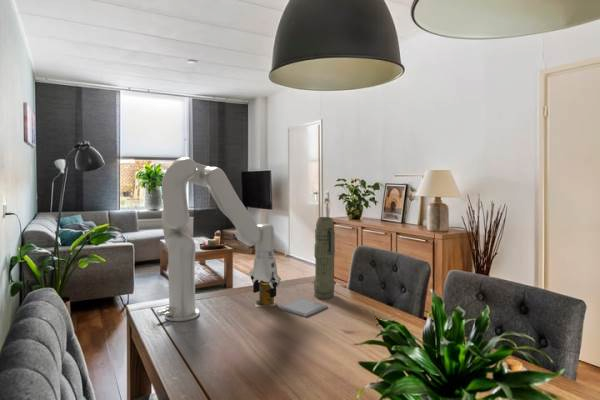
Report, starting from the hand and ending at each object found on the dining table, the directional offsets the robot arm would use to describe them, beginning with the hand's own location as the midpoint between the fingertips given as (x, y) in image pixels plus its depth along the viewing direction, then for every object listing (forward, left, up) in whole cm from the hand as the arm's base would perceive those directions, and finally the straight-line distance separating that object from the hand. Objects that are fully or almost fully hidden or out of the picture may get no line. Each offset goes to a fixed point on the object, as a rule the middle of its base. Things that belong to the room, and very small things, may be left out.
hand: (264, 294), depth 160 cm
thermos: (+24, -13, -4) cm, 28 cm away
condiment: (0, 0, -4) cm, 4 cm away
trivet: (+6, -16, -4) cm, 18 cm away
